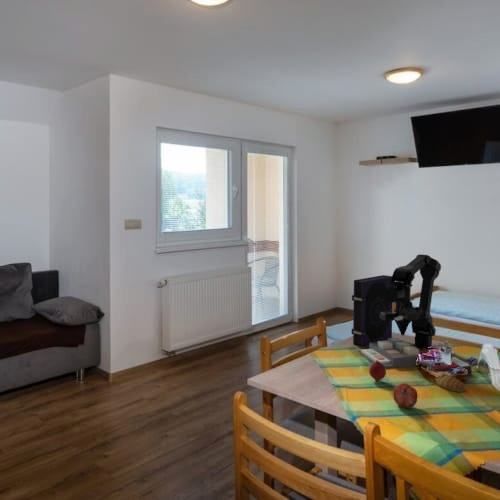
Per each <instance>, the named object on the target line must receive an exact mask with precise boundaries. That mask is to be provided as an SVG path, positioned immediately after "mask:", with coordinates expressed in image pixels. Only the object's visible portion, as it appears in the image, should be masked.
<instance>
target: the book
mask: <svg viewBox="0 0 500 500" xmlns="http://www.w3.org/2000/svg"><path fill="white" fill-rule="evenodd" d="M391 278H392V275H386V274H385V275H384V274H382V275H376V276H372V277H371V276H370V277H365V278H359V279H354V280H353V294H352V295H351V301H353V312H352V315H353V316H352V317H353V318H352V320H353V322H352V323H353V326H352V328H351V335H353V336H352V344H353V346H355V345H360V347H362V348H363V347H367V346H369V343H373V342H378V341H386V340H388V338H393V321H384V320H382V319H380V318H379V314H380V313H381V312H384V311H389V312H391V313H393V302H392V303H391V302H389V301H387V300H386V298H385V292H386V290H387V289H389V286H390V285H389V284H390V281H391Z"/></svg>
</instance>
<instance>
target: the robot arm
mask: <svg viewBox="0 0 500 500" xmlns="http://www.w3.org/2000/svg"><path fill="white" fill-rule="evenodd" d="M441 270H442V265H441V263H440V262H439V261H438V260H437V259H435V258H432V257H431V256H430V255H428V254H417V255H416V256H415V258H414V259H412V260H411V261H410V262H409V263H407V264H406V265H402V266H398V267H396V268H395V269H394V270H393V273H392V275H391V276H392V278H391V281H390V284H389V285H390V286H389V289H387V290H386V292H385V298H386V300H387V301H389V302H391V303H392V304H393V303H394V304H395V309H394V310H393V312H392V313H391V312H389V311H384V312H381V313H380V314H379V318H380V319H382V320H384V321H392V322H395V324H396V326H397V329H398V331H399V333H400V334H401V336H405V335H406V332H407V329H408V327H409V325H410V323H411V330H412V334H415V336H414V344H413V345H412V346H414V347H415V348H417V347H418V348H417V349H419V348H421V349H420V350H424V349H423V348H428V347H430V346H432V347H433V337H435V336H436V331H437V329H436V328H435V326H434V324H433V322H434V321H433V317H432V315H431V305H432V299H433V292H434V282H435V281H436V279H437V278H438V277H439V276H440V271H441ZM417 272H418V273H420V276H421V278H422V280H421V281H422V282H421V288H420V296H419V302H418V303H419V304H418V306H416V307H415V306H413V301H412V300H411V287H413V284H412V282H413V281H414V279H415V278H416V277H415V275H416V274H417Z"/></svg>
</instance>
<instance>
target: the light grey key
mask: <svg viewBox="0 0 500 500" xmlns="http://www.w3.org/2000/svg"><path fill="white" fill-rule="evenodd" d="M378 347H379V348H381V349H392V343H391V342H389V341H388V340H382V341H378Z"/></svg>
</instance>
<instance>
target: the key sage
mask: <svg viewBox="0 0 500 500" xmlns="http://www.w3.org/2000/svg"><path fill="white" fill-rule="evenodd" d="M410 346H411V344H410V343H408V342H406V341H403V342H396V343H395V348H397V349H398V350H400V351H402V350H403V347H410Z"/></svg>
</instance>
